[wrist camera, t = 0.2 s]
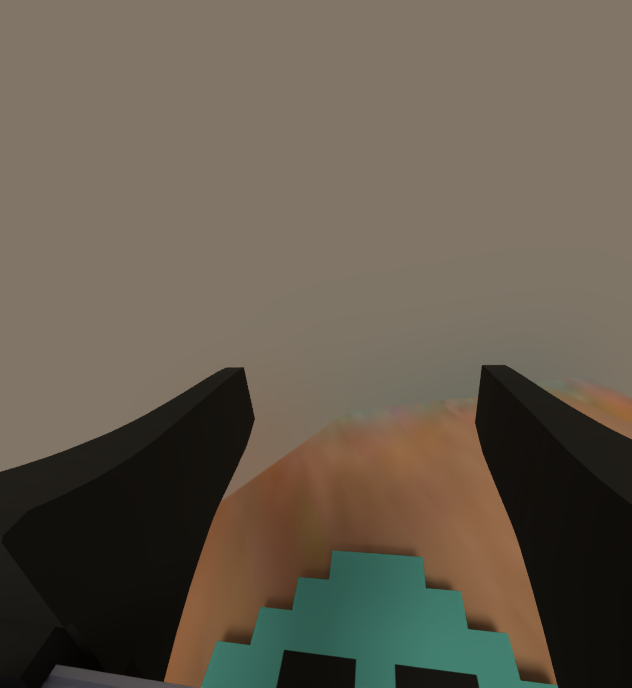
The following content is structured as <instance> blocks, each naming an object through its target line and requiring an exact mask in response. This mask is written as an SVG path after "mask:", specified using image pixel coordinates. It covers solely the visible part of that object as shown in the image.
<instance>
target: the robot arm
mask: <svg viewBox="0 0 632 688" xmlns="http://www.w3.org/2000/svg"><path fill="white" fill-rule="evenodd" d="M254 420H255V418H254V413H253V408H252V403H251V399H250V394H249V390H248V385H247V380H246V375H245V371H244V368H242V367H241V368H224V369H222V370H221V371H218V372H217V373H215V374H213V375H211V376H210V377H208V378H206V379H205V380H203V381H202V382H200V383H198V384H197V385H195V386H194V387H192V388H190V389H189V390H187V391H185V392H184V393H182V394H180V395H179V396H177V397H176V398H174V399H172V400H171V401H169V402H167V403H165V404H164V405H162V406H160V407H158V408H157V409H155V410H153V411H151V412H150V413H148V414H146V415H144V416H142V417H140V418H139V419H137V420H135V421H133V422H131V423H129V424H127V425H125V426H123V427H120V428H118V429H116V430H114V431H112V432H110V433H107V434H105V435H103V436H100V437H98V438H95V439H93V440H90V441H88V442H86V443H83V444H81V445H78V446H76V447H73V448H71V449H68V450H66V451H63V452H60V453H57V454H55V455H52V456H49V457H46V458H43V459H40V460H37V461H34V462H31V463H28V464H25V465H22V466H19V467H16V468H12V469H9V470H5V471H2V472H0V688H197V687H190V686H184V685H178V684H172V683H166V682H164V678H165V675H166V671H167V667H168V663H169V659H170V656H171V652H172V648H173V644H174V640H175V637H176V633H177V629H178V626H179V623H180V619H181V616H182V612H183V609H184V605H185V602H186V599H187V595H188V592H189V588H190V585H191V582H192V579H193V576H194V573H195V570H196V567H197V564H198V561H199V557H200V554H201V551H202V549H203V546H204V543H205V540H206V537H207V534H208V531H209V529H210V526H211V523H212V520H213V518H214V515H215V513H216V511H217V508H218V506H219V504H220V502H221V500H222V498H223V495H224V493H225V491H226V489H227V487H228V485H229V483H230V481H231V479H232V476H233V474H234V472H235V470H236V468H237V466H238V463H239V461H240V459H241V457H242V455H243V453H244V450H245V448H246V446H247V443H248V440H249V437H250V434H251V430H252V426H253V423H254ZM475 424H476V428H477V433H478V437H479V441H480V444H481V448H482V452H483V455H484V457H485V460H486V463H487V465H488V467H489V470H490V472H491V475H492V477H493V480H494V482H495V485H496V487H497V490H498V492H499V494H500V497H501V499H502V502H503V504H504V507H505V509H506V511H507V514H508V516H509V519H510V521H511V524H512V526H513V529H514V532H515V534H516V537H517V540H518V543H519V546H520V549H521V552H522V556H523V559H524V563H525V566H526V569H527V573H528V576H529V579H530V583H531V586H532V590H533V594H534V597H535V601H536V605H537V608H538V612H539V615H540V619H541V623H542V626H543V630H544V634H545V638H546V642H547V646H548V650H549V654H550V657H551V661H552V665H553V669H554V673H555V677H556V681H557V685H558V688H632V439H630V438H628V437H625V436H623V435H621V434H619V433H617V432H615V431H614V430H612V429H610V428H608V427H606V426H604V425H602V424H601V423H599V422H597V421H595V420H593V419H592V418H590V417H588V416H586V415H585V414H583V413H581V412H579V411H578V410H576V409H574V408H573V407H571V406H569V405H568V404H566V403H564V402H563V401H561V400H560V399H558V398H556V397H555V396H553V395H552V394H550V393H548V392H547V391H545V390H544V389H542V388H541V387H539V386H538V385H536V384H535V383H533V382H532V381H530V380H528V379H527V378H525V377H524V376H522V375H521V374H519V373H518V372H516V371H515V370H513V369H511V368H510V367H508V366H506V365H482V370H481V378H480V387H479V395H478V403H477V411H476V420H475Z"/></svg>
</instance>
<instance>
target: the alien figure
mask: <svg viewBox="0 0 632 688" xmlns="http://www.w3.org/2000/svg"><path fill="white" fill-rule="evenodd" d="M201 688H558V685H551V684H544V683H536V682H528V681H521V680H520V676H519V673H518V669H517V666H516V662H515V658H514V655H513V651H512V648H511V644H510V640H509V637H508V633H498V632H489V631H480V630H470V629H468V626H467V621H466V616H465V611H464V606H463V601H462V595H461V591H451V590H440V589H429V588H426V584H425V575H424V566H423V557H416V556H402V555H388V554H374V553H361V552H347V551H332V559H331V567H330V575H329V580H327V579H315V578H304V577H299V578H298V583H297V588H296V593H295V598H294V603H293V608H292V610H284V609H275V608H266V607H260V611H259V614H258V618H257V621H256V625H255V629H254V632H253V636H252V639H251V643H250V645H245V644H237V643H229V642H222V641H217V643H216V646H215V649H214V651H213V654H212V657H211V660H210V663H209V666H208V669H207V671H206V674H205V677H204V680H203V683H202V686H201Z"/></svg>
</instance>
